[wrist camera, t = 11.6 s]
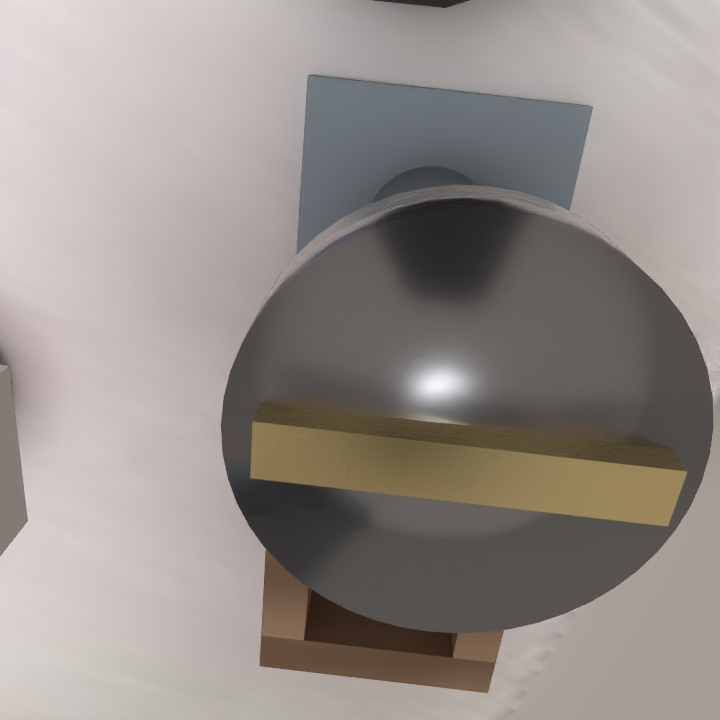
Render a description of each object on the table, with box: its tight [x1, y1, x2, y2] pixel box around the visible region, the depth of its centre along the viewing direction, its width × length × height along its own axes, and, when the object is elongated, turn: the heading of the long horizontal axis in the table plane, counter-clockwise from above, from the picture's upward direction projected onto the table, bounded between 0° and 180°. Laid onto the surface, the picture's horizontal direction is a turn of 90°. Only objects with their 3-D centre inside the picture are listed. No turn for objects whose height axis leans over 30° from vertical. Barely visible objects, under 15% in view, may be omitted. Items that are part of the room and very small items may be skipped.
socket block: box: [260, 549, 504, 693], centre depth 27 cm, size 9×9×5 cm
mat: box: [297, 75, 593, 254], centre depth 24 cm, size 9×9×1 cm
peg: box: [221, 166, 713, 633], centre depth 17 cm, size 8×8×15 cm
